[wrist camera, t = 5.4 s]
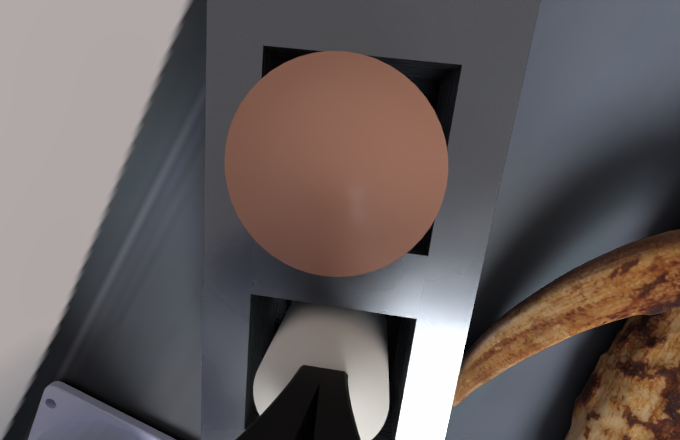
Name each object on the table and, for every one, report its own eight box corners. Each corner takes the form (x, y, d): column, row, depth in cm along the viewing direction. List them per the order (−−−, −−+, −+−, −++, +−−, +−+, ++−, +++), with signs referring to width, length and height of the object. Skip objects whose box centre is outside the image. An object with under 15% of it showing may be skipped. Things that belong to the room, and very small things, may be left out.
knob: (380, 378, 15) (379, 465, 11) (282, 363, 16) (250, 442, 12) (394, 287, 14) (398, 349, 10) (289, 272, 15) (256, 327, 11)
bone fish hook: (581, 72, 13) (398, 474, 17) (684, 37, 8) (400, 596, 13) (863, 160, 12) (599, 552, 17) (1140, 175, 8) (677, 709, 12)
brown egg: (411, 231, 11) (427, 290, 7) (276, 213, 11) (221, 261, 7) (435, 85, 10) (469, 63, 6) (285, 70, 10) (227, 39, 6)
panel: (422, 411, 16) (433, 488, 13) (237, 380, 17) (200, 446, 13) (546, -222, 10) (624, -385, 7) (264, -233, 11) (212, -388, 8)
